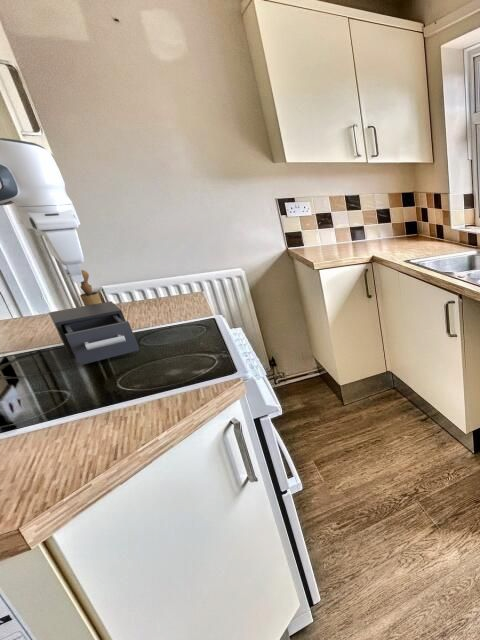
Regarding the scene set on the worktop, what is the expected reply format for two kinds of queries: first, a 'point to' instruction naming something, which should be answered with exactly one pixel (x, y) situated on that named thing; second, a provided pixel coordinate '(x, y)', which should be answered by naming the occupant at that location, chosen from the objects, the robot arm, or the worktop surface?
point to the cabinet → (82, 318)
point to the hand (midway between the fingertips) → (75, 279)
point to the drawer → (100, 338)
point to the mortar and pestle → (88, 292)
